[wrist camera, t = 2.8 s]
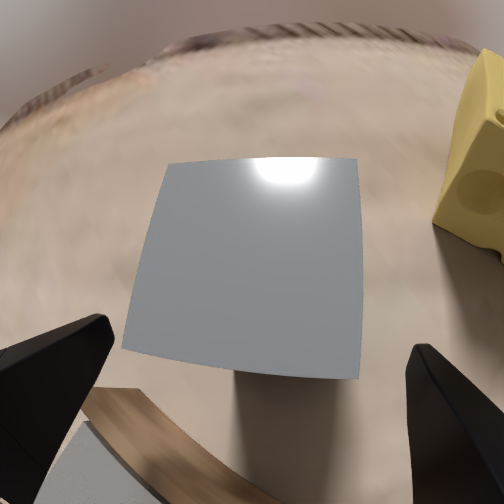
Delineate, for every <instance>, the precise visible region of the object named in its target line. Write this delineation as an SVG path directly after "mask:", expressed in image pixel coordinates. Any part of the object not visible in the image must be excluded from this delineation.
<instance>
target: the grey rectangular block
mask: <svg viewBox="0 0 504 504" xmlns="http://www.w3.org/2000/svg"><path fill="white" fill-rule="evenodd" d="M362 318H363V241H362V218H361V202H360V189H359V177H358V167H357V159H349V158H250V159H229V160H212V161H198V162H186V163H175V164H168V167H167V170H166V173H165V176H164V179H163V182H162V185H161V188H160V191H159V195H158V198H157V201H156V204H155V208H154V211H153V214H152V218H151V221H150V225H149V228H148V232H147V235H146V239H145V243H144V246H143V250H142V254H141V258H140V262H139V266H138V270H137V274H136V278H135V283H134V287H133V291H132V296H131V300H130V305H129V310H128V315H127V320H126V325H125V331H124V336H123V342H122V347H121V348H122V349H126V350H131V351H135V352H139V353H143V354H148V355H152V356H157V357H161V358H166V359H171V360H176V361H182V362H187V363H192V364H198V365H204V366H210V367H217V368H223V369H230V370H238V371H245V372H254V373H262V374H272V375H283V376H295V377H309V378H328V379H359V369H360V356H361V340H362Z"/></svg>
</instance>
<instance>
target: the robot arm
mask: <svg viewBox="0 0 504 504" xmlns="http://www.w3.org/2000/svg"><path fill="white" fill-rule="evenodd" d="M114 340H115V336H114V333H113V330H112V327H111V324H110V321H109V319H108V317H107V316H106V315H102V314H97V313H96V314H93V315H90V316H87V317H85V318H82V319H80V320H77V321H74V322H72V323H69V324H67V325H64V326H62V327H59V328H56V329H54V330H51V331H49V332H46V333H43V334H41V335H38V336H36V337H33V338H30V339H28V340H25V341H23V342H20V343H17V344H15V345H12V346H10V347H8V348H4V349H2V350H0V498H3V499H4V500H5V501H7V502H8V503H9V504H34V501H35V499H36V497H37V495H38V492H39V490H40V488H41V486H42V484H43V482H44V479H45V477H46V475H47V472H48V470H49V468H50V466H51V464H52V462H53V460H54V458H55V456H56V454H57V452H58V450H59V448H60V446H61V444H62V442H63V440H64V438H65V436H66V434H67V433H68V431H69V429H70V427H71V425H72V423H73V421H74V419H75V418H76V416H77V414H78V412H79V410H80V408H81V407H82V405H83V403H84V401H85V399H86V398H87V396H88V394H89V392H90V391H91V389H92V387H93V385H94V384H95V382H96V380H97V378H98V376H99V374H100V372H101V369H102V367H103V365H104V363H105V361H106V359H107V356H108V354H109V352H110V350H111V348H112V346H113V344H114ZM405 377H406V398H407V427H408V436H409V446H410V456H411V469H412V485H413V504H504V413H503V412H502V411H501V410H500V409H499V408H498V407H497V406H496V405H495V404H494V403H493V402H492V401H491V400H490V399H489V398H488V397H487V396H486V395H485V394H484V393H482V392H481V391H480V390H479V389H478V388H477V387H476V386H475V385H474V384H473V383H472V382H471V381H470V380H469V379H468V378H467V377H465V376H464V375H463V374H462V373H461V372H460V371H459V370H458V369H457V368H456V367H455V366H453V365H452V364H451V363H450V362H449V361H448V360H447V359H446V358H445V357H444V356H442V355H441V354H440V353H439V352H438V351H437V350H436V349H435V348H434V347H432V346H431V345H430V344H427V343H426V344H415V345H414V347H413V349H412V352H411V355H410V358H409V361H408V364H407V367H406V373H405ZM0 504H2V503H1V502H0Z"/></svg>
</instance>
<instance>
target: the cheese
mask: <svg viewBox="0 0 504 504" xmlns="http://www.w3.org/2000/svg"><path fill="white" fill-rule="evenodd" d="M432 222H433V223H434V224H436V225H437V226H439V227H441V228H443V229H445V230H447V231H449V232H451V233H452V234H454V235H456V236H458V237H460V238H462V239H463V240H465V241H467V242H469V243H470V244H472V245H474V246H476V247H481V248H492V249H495V250H497V251H499V252H500V253H501V262H502V263H503V264H504V58H502V57H500V56H498V55H497V54H495V53H493V52H491V51H489V50H487V49H483V50H482V52H481V53H480V55H479V57H478V59H477V60H476V62H475V63H474V65H473V67H472V69H471V70H470V73H469V75H468V77H467V80H466V83H465V86H464V89H463V92H462V95H461V99H460V102H459V105H458V109H457V113H456V117H455V122H454V128H453V135H452V142H451V148H450V153H449V159H448V165H447V171H446V176H445V180H444V184H443V188H442V191H441V195H440V198H439V201H438V204H437V207H436V210H435V213H434V216H433V219H432Z"/></svg>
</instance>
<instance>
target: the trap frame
mask: <svg viewBox="0 0 504 504" xmlns="http://www.w3.org/2000/svg"><path fill="white" fill-rule="evenodd" d="M80 409H81V410H82V411H83V413H84V414H85V415H86V416H87V418H88V419H89V420H90V421H91V423H92V424H93V425H94V426H95V428H96V429H97V430H98V431H99V432H100V434H101V435H102V436H103V437H104V438H105V439H106V441H107V442H108V443H109V444H110V445H111V446H112V447H113V448H114V450H115V451H116V452H117V453H118V454H119V455H120V456H121V457H122V458H123V459H124V460H125V461H126V462H127V463H128V464H129V465H130V466H131V467H132V468H133V469H134V470H135V471H136V472H137V473H138V474H139V475H140V476H141V477H142V478H143V479H144V480H145V481H146V482H147V483H148V484H149V485H150V486H151V487H152V488H154V489H155V490H156V491H157V492H158V493H159V494H160V495H162V496H163V497H164V498H165V499H166V500H167V501H169V502H170V503H171V504H283V503H281V502H279V501H278V500H276V499H274V498H273V497H271V496H270V495H268V494H266V493H265V492H263V491H262V490H260V489H259V488H257V487H256V486H254V485H253V484H251V483H250V482H248V481H247V480H245V479H244V478H242V477H241V476H240V475H238V474H237V473H235V472H234V471H233V470H231V469H230V468H228V467H227V466H226V465H224V464H223V463H222V462H220V461H219V460H218V459H217V458H215V457H214V456H213V455H211V454H210V453H209V452H208V451H206V450H205V449H204V448H203V447H201V446H200V445H199V444H198V443H197V442H195V441H194V440H193V439H192V438H191V437H190V436H188V435H187V434H186V433H185V432H184V431H183V430H181V429H180V428H179V427H178V426H177V425H176V424H175V423H174V422H173V421H171V420H170V419H169V418H168V417H167V416H166V415H165V414H164V413H163V412H162V411H161V410H160V409H159V408H158V407H157V406H156V405H155V404H154V403H153V402H152V401H151V400H150V399H149V398H148V397H147V396H146V395H145V394H144V393H143V392H142V391H141V390H140V389H134V388H103V387H92V389H91V391H90V392H89V394H88V396H87V398H86V399H85V401H84V403H83V405H82V407H81V408H80Z"/></svg>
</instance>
